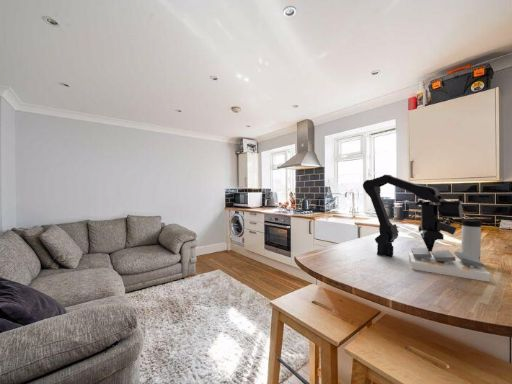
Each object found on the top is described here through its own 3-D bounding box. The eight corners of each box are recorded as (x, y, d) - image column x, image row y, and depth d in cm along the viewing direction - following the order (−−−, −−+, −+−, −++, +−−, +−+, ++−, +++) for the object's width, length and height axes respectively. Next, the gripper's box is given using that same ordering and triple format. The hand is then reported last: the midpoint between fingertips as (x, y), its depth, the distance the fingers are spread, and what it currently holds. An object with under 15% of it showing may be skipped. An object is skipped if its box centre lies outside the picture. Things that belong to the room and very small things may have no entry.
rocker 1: (414, 257, 92) (413, 254, 92) (411, 251, 101) (411, 248, 101) (431, 257, 89) (431, 254, 89) (427, 250, 98) (427, 247, 98)
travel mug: (485, 264, 95) (486, 219, 94) (467, 263, 96) (468, 219, 95) (473, 260, 101) (474, 217, 100) (457, 259, 102) (458, 217, 101)
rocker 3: (461, 261, 84) (462, 258, 84) (454, 254, 93) (455, 251, 93) (482, 267, 81) (483, 264, 81) (472, 259, 90) (473, 256, 90)
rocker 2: (436, 261, 88) (435, 257, 88) (431, 253, 97) (431, 250, 97) (455, 260, 85) (455, 257, 85) (449, 253, 94) (448, 250, 94)
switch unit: (411, 268, 90) (412, 259, 89) (408, 258, 102) (408, 250, 102) (490, 281, 77) (490, 270, 77) (475, 268, 90) (475, 258, 90)
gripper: (460, 219, 81) (461, 260, 81) (448, 214, 97) (449, 248, 97) (423, 218, 87) (424, 256, 87) (418, 213, 103) (418, 245, 103)
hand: (430, 251), depth 93 cm, fingers closed, pressing on rocker 1
